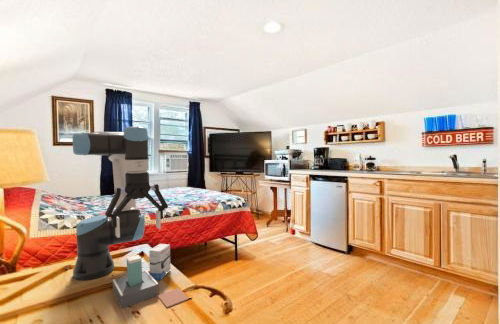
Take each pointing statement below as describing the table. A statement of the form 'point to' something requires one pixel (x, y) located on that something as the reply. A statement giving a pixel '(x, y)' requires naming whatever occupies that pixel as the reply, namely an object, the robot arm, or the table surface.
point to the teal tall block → (134, 270)
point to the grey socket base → (135, 290)
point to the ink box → (159, 261)
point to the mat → (172, 297)
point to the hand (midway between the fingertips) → (139, 232)
